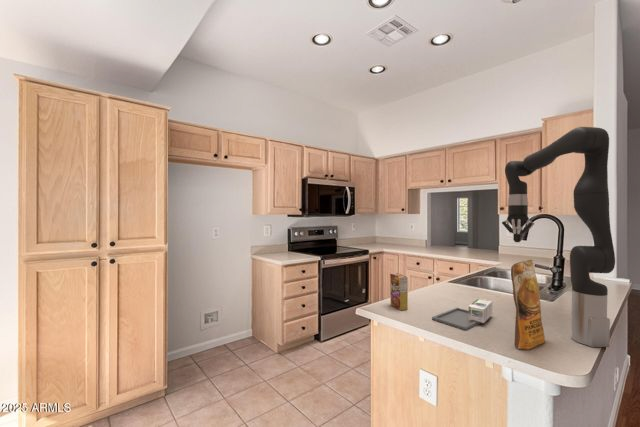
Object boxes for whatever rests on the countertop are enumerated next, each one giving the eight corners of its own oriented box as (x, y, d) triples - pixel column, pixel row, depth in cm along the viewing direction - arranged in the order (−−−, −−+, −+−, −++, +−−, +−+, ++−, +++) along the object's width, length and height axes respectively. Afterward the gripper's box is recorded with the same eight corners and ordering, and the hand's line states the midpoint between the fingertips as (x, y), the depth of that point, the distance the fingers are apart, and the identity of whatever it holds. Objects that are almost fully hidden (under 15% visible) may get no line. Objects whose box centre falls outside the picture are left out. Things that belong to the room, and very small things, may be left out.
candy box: (389, 304, 145) (389, 273, 144) (397, 304, 146) (397, 272, 146) (399, 310, 136) (399, 277, 136) (408, 309, 137) (408, 276, 137)
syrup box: (492, 300, 129) (483, 308, 118) (492, 314, 129) (483, 323, 118) (478, 298, 132) (468, 305, 122) (478, 311, 132) (468, 320, 122)
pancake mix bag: (502, 345, 102) (502, 262, 101) (530, 333, 111) (531, 258, 111) (523, 353, 96) (524, 266, 95) (551, 340, 106) (552, 260, 105)
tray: (456, 310, 137) (456, 307, 137) (489, 318, 126) (489, 316, 126) (432, 319, 125) (432, 316, 125) (465, 330, 114) (465, 327, 114)
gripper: (498, 204, 141) (498, 241, 141) (531, 204, 131) (531, 244, 131) (505, 204, 146) (505, 240, 146) (537, 204, 135) (537, 242, 136)
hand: (517, 242), depth 138 cm, fingers closed
